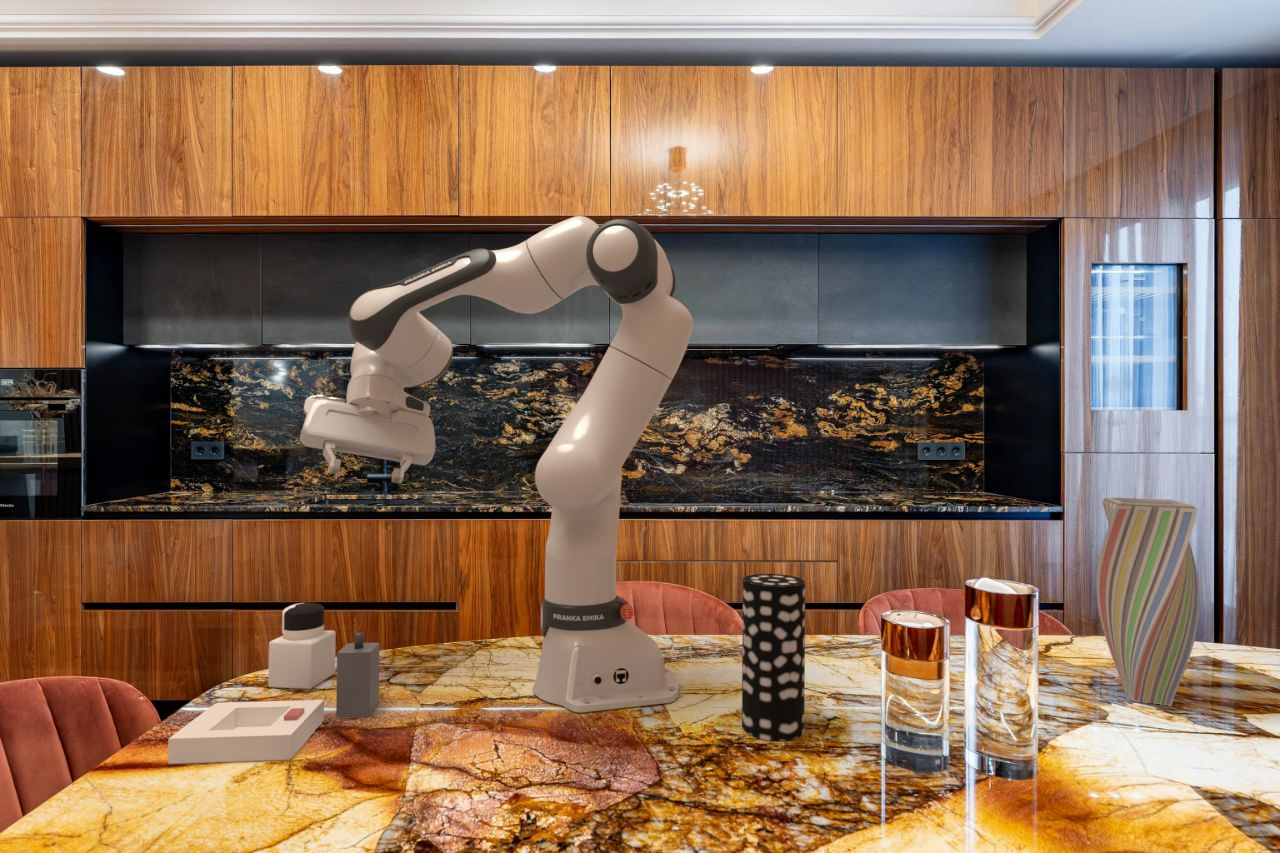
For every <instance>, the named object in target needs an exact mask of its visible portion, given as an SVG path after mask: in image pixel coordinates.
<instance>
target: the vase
mask: <svg viewBox="0 0 1280 853" xmlns="http://www.w3.org/2000/svg"><path fill="white" fill-rule="evenodd" d="M1101 502H1102V506H1103V510H1104V513H1105V516H1106V520H1107V530H1106V533H1105V537H1104V539H1103V544H1102V547H1101V550H1100V555H1099V558H1098V562H1097V563H1098V564H1097V569H1096V580H1095V581H1096V583H1095V588H1096V603H1097V609H1098V614H1099V619H1100V624H1101V627H1102V632H1103V634H1104V638H1105V640H1106V643H1107V646H1108V649H1109V653H1110V655H1111V657H1112V660H1113V663H1114V666H1115V668H1116V671H1117V673H1118V676H1119V679H1120V682H1121V687H1122V691H1123V690H1124V691H1123V692H1124V694H1126V696H1127V697H1128V698H1129V699H1130V701H1131V700H1132V701H1131V702H1133V701H1134V703H1142V702H1143V703H1142V704H1149V703H1150V704H1151V703H1153V704H1152V705H1156V704H1160V705H1159V706H1164V705H1168V706H1167V707H1172V706H1173V703H1174V699H1175V696H1176V693H1177V690H1178V688H1179V686H1180V684H1181V681H1182V679H1183V677H1184V673H1185V671H1186V668H1187V666H1188V663H1189V660H1190V658H1191V654H1192V652H1193V651H1192V650H1193V648H1194V643H1195V640H1196V634H1197V629H1198V623H1199V615H1200V582H1199V576H1198V568H1197V565H1196V560H1195V557H1194V552H1193V548H1192V545H1191V542H1190V539H1191V535H1192V533H1193V532H1192V531H1193V529H1194V525H1195V522H1196V518H1197V513H1198V508H1196V506H1194V505H1193V504H1189V503H1186V502H1183V501H1178V500H1175V499H1162V498H1161V499H1160V498H1159V499H1158V498H1136V497H1135V498H1133V497H1131V498H1130V497H1106V496H1105V498H1103V499H1102V500H1101Z"/></svg>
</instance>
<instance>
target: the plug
mask: <svg viewBox="0 0 1280 853" xmlns="http://www.w3.org/2000/svg"><path fill="white" fill-rule="evenodd" d="M353 636H354V637H353V638H354V642H348V643H346V644H345V645H344V646H343V647H342V648H341V649H340V650H338V652H337V653H336V702H335V704H336V711H335V712H336V714H335V715H336V716H335V718H336V717H354V718H371V716H372V715H371V714H373V713H374V712H375V710H376V709H377V708H378V706H379V704H380V649H381V648H380V647H381V646H380V645H381V644H380V643H381V642H364V639H365V638H364V632H360V631H359V632H355V633H354V635H353ZM376 707H377V708H376ZM373 711H374V712H373Z"/></svg>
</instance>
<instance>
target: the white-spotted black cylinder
mask: <svg viewBox="0 0 1280 853" xmlns="http://www.w3.org/2000/svg"><path fill="white" fill-rule="evenodd" d="M805 634H806V580H805V579H803V578H801V577H798V576H794V575H788V574H779V573H755V574H749V575H745V576H744V577H743V578H742V643H741V644H742V648H741V649H742V652H741V653H742V654H741V656H742V659H741V660H742V665H741V669H742V673H741V675H742V676H741V677H742V678H741V681H742V684H741V686H742V687H741V689H742V690H741V695H742V696H741V708H742V709H741V727H742V729H743V731H744V732H745V733H746V734H749V735H750V736H752V737H755V738H757V739H761V740H766V741H771V742H783V741H784V742H785V741H786V742H787V741H792V740H795V739H798V738H800V737H802V736H803V735H804V733H805V702H806V700H805V691H806V689H805V686H806V685H805V684H806V683H805V682H806V681H805V678H806V676H805V675H806V674H805V671H806V669H805V668H806V666H805V664H806V660H805V659H806V657H805V656H806V652H805V651H806V649H805V648H806V647H805V646H806V635H805Z"/></svg>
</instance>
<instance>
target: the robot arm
mask: <svg viewBox="0 0 1280 853" xmlns="http://www.w3.org/2000/svg"><path fill="white" fill-rule="evenodd" d="M676 285H677V284H676V275H675V271H674V269H673V267H672V265H671V264H670V262H669V260H668V258H667V255H666V253H665V251H664V249H663V248H662V246H661V245H660V244H659V242H658V241H657V240H656V239H655V238H654V236H653V235H652V233H650V231H649V230H647V229H646V227H644V226H642V225H641V224H639V223H637V222H636V221H633V220H629V219H625V218H624V219H623V218H622V219H621V218H620V219H619V218H617V219H611V220H609V221H606V222H604V223H602V224H601V225H598V224H597V223H596V222H595V221H594V220H593V219H590V218H589V217H587V216H583V215H576V216H573V217H570V218H566V219H565V220H562V221H560V222H557V223H555V224H553V225H551V226H549V227H547V228H545V229H543V230H541V231H538V233H536V234H534V235H532V236H530V237H529V238H528V239H526V240H524V241H522V242H521V243H518V244H516V245H513V246H510V247H507V248H506V247H505V248H501V249H495V250H491V249H485V248H475V249H472V250H469V251H466V252H464V253H461V254H459V255H455V256H453V257H451V258H449V259H447V260H444V261H442V262H439V263H437V264H435V265H433V266H431V267H428V268H426V269H423V270H422V271H420V272H417V273H415V274H412V275H410V276H408V277H406V278H404V279H401V280H399V281H396V282H394V283H390V284H385V285H382V286H379V287H374V288H372V289H370V290H369V289H368V290H367V291H365V292H363V293H362V294H361V295H359V296H358V297H357V298H356V299H355V300H354V301H353V303H351V306H350V308H349V310H348V328H349V332H350V335H351V338H352V339H353V340H354V341H355V345H354V348H353V351H352V354H351V361H350V369H349V370H350V371H349V372H350V375H351V378H350V380H349V382H348V384H347V389H346V395H345V396H346V398H341V397H334V396H328V395H324V394H320V393H319V394H316V395H312V396H308V397H307V398H306V399H305V400H304V404H303V408H302V410H303V413H304V415H305V419H304V423H303V425H302V429H301V432H300V437H299V441H300V442H301V444H302V445H303V446H305V447H307V448H313V449H319V450H323V451H322V455H323V457H324V459H325V460H326V462H327V464H328V468H327V473H328V474H335V475H338V474H339V472H340V470H341V463H342V459H341V458H340V459H339V458H336V456H335V453H334V452H339V453H345V454H350V455H351V454H352V455H357V456H363V457H370V458H376V459H382V460H388V461H394V462H400V463H399V466H400V468H398V467H395V468H394V469H393V471H392V475H391V483H397V484H402V483H403V481H404V477H405V472H406V471H407V470H408V469H409V468H410V466H411V464H413V465H418V466H419V465H420V466H426V465H428V464H429V463H430V462H431V461H432V460H433V457H434V455H435V453H436V435H435V434H436V433H435V427H434V424H433V422H432V420H431V419H430V418H429V416H430V413H431V406H430V404H428V403H427V402H426V401H423V400H422V399H419V398H417V397H414V396H413V395H411V394H409V393H408V392H406V391H404V389H405V388H409V389H410V388H415V387H419V386H422V385H426V384H429V383H432V382H435V381H437V380H439V379H440V378H442V377H443V376H444V375H445V374H446V373H447V372H448V369H449V368H450V365H451V363H452V359H453V357H454V356H453V355H454V347H453V342H452V341H451V339H450V338H449V337H448V336H447V335H446V334H445V333H444V332H442V331H441V329H439V327H436V325H434V324H433V323H432V322H431V321H429V320H428V319H427V318H426V317H424V316H423V315H422V314H421V311H424V310H426V309H428V308H430V307H432V306H435V305H437V304H439V303H442V302H445V301H446V300H448V299H451V298H453V297H454V298H455V297H457V296H463V295H465V296H466V295H467V296H473V297H474V296H475V297H479V298H482V299H485V300H487V301H490V302H493V303H494V304H497V305H499V306H501V307H502V308H503V307H504V308H505V309H507V310H510V311H513V312H514V313H519V314H525V315H526V314H527V315H533V314H538V313H541V312H544V311H546V310H548V309H550V308H551V307H554V306H556V304H558V303H560V302H562V301H563V300H565V299H566V298H568V297H570V296H571V295H572V294H574V293H576V292H577V291H579V290H581V289H583V288H585V287H588V286H598V287H600V288H602V289H603V291H604V292H605V294H606V295H607V296H608V297H609V298H610V299H611V300H612V301H613V302H615V303H616V304H617V305H618V306H620V307H621V310H622V318H621V321H620V322H621V323H620V326H619V328H618V329H617V332H616V334H615V335H614V338H613V339H612V340H611V343H610V344H609V346H608V348H607V350H606V352H605V353H604V355H603V358H602V360H601V361H600V363H599V365H598V366H597V368H596V371H595V372H594V374H593V376H592V378H591V380H590V382H589V384H588V385H587V387H586V389H585V390H584V392H583V394H582V395H581V397H580V398H579V400H578V401H577V402H576V404H575V405H574V407H573V408H572V409H571V411H570V412H569V414H568V415H567V417H566V418H565V419H564V421H563V423H562V424H561V426H560V427H559V429H557V430H558V431H557V432H556V434H554V437H553V438H552V440H551V442H550V443H549V445H548V447H547V448H546V450H545V451H544V452H543V454H542V455H541V457H540V458H539V461H538V462H537V464H536V466H535V472H534V482H535V487H536V489H537V491H538V494H539V495H540V497H541V498H542V499H543V500H544V502H546V503H547V504H548V505H549V506H551V507H552V508H551V516H550V522H549V530H548V535H547V540H546V542H545V543H546V544H545V551H544V552H545V553H544V554H545V555H544V558H545V559H544V596H543V597H542V601H541V605H540V607H541V608H540V630H541V634H542V643H541V644H542V646H541V654H540V659H539V666H538V671H537V674H536V677H535V678H536V679H535V682H534V684H533V688H532V689H533V690H532V691H533V693H534V695H535V696H536V697H537V698H539V699H540V700H542V701H545V702H548V703H551V704H555V705H559V706H562V707H564V708H566V709H567V710H569V711H571V712H575V713H589V712H597V711H605V710H606V711H607V710H617V709H625V708H632V707H643V706H644V707H645V706H651V705H661V704H669V703H673V702H675V701H676V700H677V699H678V697H679V696H680V684H679V680H678V678H677V676H676V675H675V674H674V672H673V671H671V670H670V669H668V668H666V666H665V660H664V656H663V652H662V650H661V649H660V646H659V644H658V643H657V642H656V641H655V640H654V639H653V638H652V637H650V636H649V635H648V634H647V633H645V631H643V630H642V629H640V628H639V627H638V626H636V625H635V624H634V623H632V621H630V620H632V618H633V617H634V614H635V612H634V609H633V606H632V605H631V604H630V603H629V602H628V600H626V599H625V598H624V597H623V596H622V597H621V596H619V595H617V547H618V546H617V545H618V542H617V541H618V534H619V532H618V531H619V523H620V522H619V520H620V509H621V495H622V494H621V491H622V473H623V472H622V467H623V465H624V464H625V462H626V461H627V459H628V457H629V456H630V454H631V452H632V451H633V449H634V447H635V446H636V444H637V442H638V441H639V439H640V438H641V436H642V435H643V432H645V430H646V428H647V427H648V425H649V424H650V422H651V420H652V418H653V416H654V415H655V412H656V411H657V409H658V408H659V405H660V403H661V401H663V400H662V399H663V397H664V396H665V394H666V393H667V390H668V388H669V387H670V384H671V383H672V381H673V379H674V377H675V375H676V373H677V371H678V369H679V367H680V365H681V362H682V361H683V359H684V358H683V357H684V356H685V353H686V351H687V348H688V346H689V342H690V339H691V337H692V333H693V329H694V319H693V317H692V314H691V313H690V311H689V310H688V308H687V307H686V306H685V305H684V304H683V303H682V302H680V301H679V300H677V299H676V298H674V295H675V292H676Z"/></svg>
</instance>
